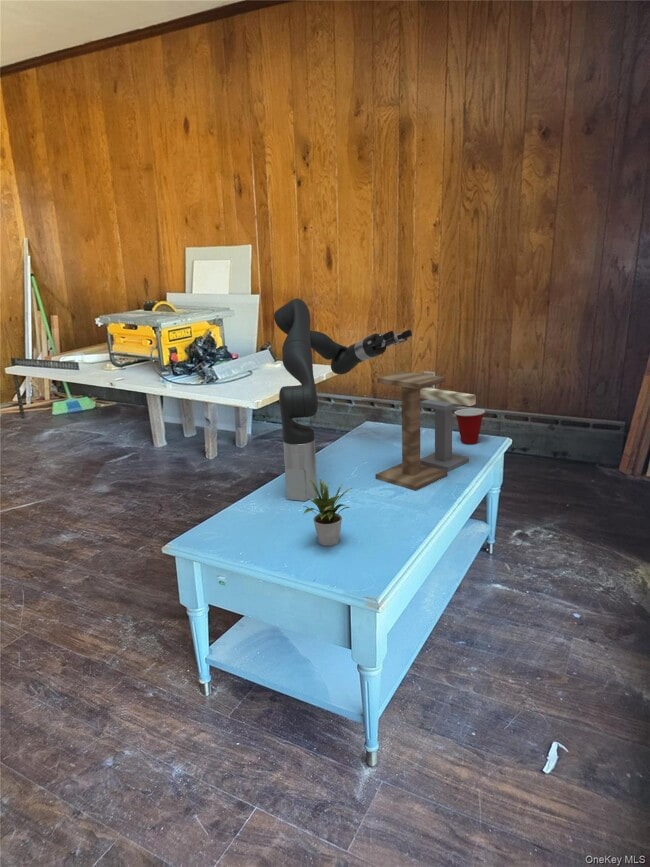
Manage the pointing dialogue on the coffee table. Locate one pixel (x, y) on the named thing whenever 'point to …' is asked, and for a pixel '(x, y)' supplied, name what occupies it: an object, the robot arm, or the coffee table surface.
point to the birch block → (448, 396)
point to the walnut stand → (411, 433)
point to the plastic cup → (469, 424)
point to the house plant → (327, 515)
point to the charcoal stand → (442, 438)
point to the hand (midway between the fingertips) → (402, 333)
